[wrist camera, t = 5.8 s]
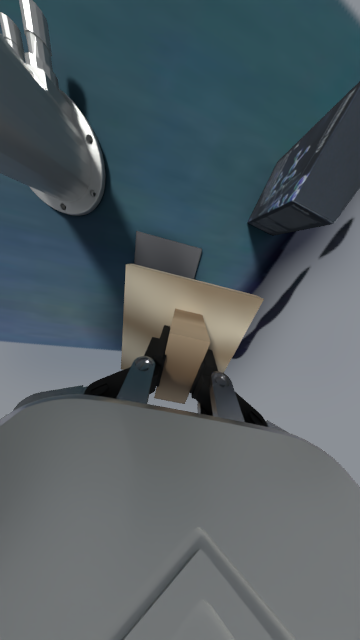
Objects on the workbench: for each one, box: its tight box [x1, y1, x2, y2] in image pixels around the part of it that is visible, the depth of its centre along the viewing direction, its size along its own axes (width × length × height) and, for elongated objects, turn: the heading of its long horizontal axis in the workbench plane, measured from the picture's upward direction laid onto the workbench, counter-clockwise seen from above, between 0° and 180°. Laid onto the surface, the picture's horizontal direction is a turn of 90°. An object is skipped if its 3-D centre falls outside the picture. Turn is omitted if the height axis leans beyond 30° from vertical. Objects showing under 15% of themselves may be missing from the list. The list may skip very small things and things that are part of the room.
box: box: [248, 82, 360, 236], centre depth 16 cm, size 8×6×11 cm
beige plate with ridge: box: [121, 264, 264, 404], centre depth 11 cm, size 11×11×5 cm
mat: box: [134, 231, 202, 279], centre depth 26 cm, size 12×12×1 cm
